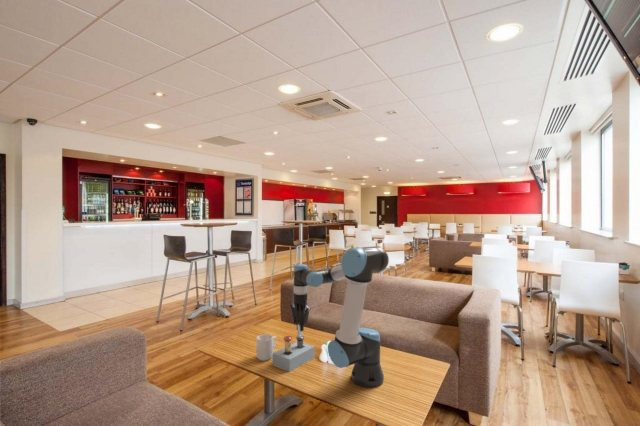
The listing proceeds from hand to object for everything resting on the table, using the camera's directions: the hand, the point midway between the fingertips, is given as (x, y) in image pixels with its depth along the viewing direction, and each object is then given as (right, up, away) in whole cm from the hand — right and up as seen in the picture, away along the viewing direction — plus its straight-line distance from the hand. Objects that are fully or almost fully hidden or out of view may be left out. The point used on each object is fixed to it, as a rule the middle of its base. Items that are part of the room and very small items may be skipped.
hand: (300, 336), depth 173 cm
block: (-3, -11, -4) cm, 13 cm away
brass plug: (-6, -6, -8) cm, 12 cm away
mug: (-18, -12, +1) cm, 21 cm away
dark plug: (0, -9, 0) cm, 9 cm away
